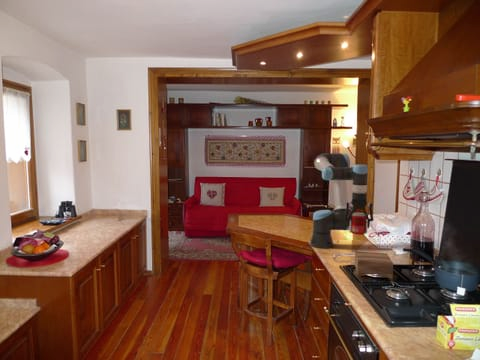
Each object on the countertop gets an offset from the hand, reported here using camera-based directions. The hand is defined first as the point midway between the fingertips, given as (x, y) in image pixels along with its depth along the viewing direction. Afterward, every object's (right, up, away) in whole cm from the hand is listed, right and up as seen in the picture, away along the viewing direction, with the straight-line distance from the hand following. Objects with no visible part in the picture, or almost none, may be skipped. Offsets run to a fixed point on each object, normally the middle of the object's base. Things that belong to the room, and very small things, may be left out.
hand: (358, 232), depth 179 cm
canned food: (0, -1, 0) cm, 1 cm away
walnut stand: (+2, -18, -15) cm, 23 cm away
